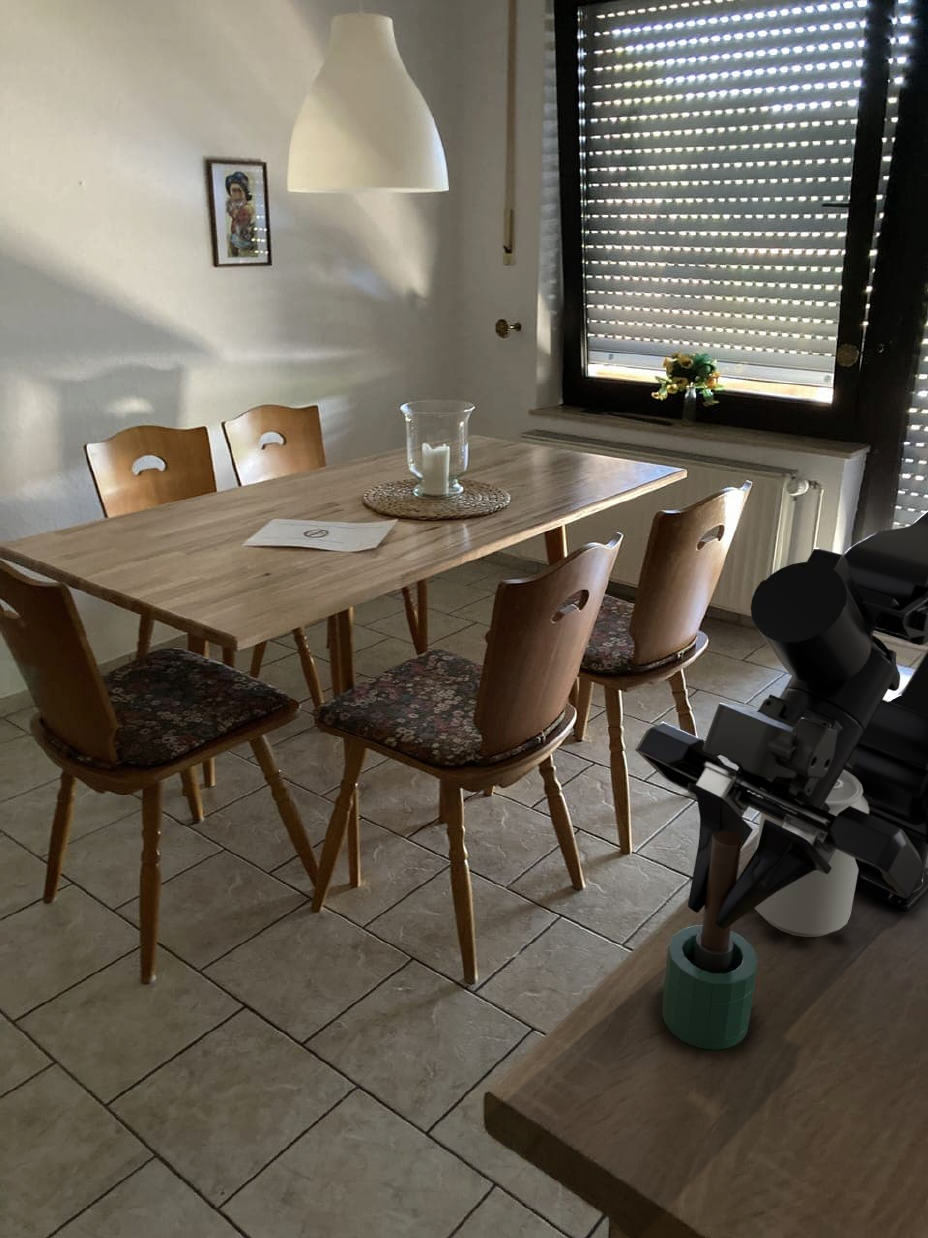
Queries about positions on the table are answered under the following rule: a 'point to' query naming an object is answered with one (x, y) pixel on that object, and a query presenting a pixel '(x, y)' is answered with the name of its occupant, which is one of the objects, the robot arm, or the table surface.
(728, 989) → the teal hollow cylinder
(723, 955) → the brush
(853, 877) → the can
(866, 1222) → the table surface
